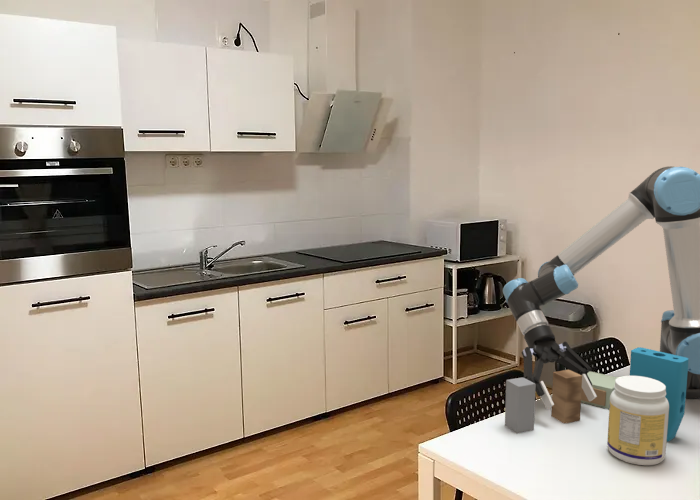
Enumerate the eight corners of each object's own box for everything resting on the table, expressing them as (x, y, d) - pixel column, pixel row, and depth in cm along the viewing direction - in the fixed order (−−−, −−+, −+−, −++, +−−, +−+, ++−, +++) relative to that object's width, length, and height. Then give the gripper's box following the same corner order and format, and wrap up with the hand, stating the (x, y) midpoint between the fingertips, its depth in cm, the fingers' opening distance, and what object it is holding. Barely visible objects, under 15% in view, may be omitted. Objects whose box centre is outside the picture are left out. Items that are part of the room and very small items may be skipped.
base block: (623, 399, 175) (624, 378, 174) (610, 411, 167) (611, 389, 166) (587, 390, 182) (588, 371, 181) (573, 401, 174) (574, 380, 173)
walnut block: (566, 413, 166) (568, 369, 164) (579, 420, 161) (582, 375, 159) (551, 416, 164) (553, 372, 162) (564, 423, 159) (566, 378, 157)
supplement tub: (616, 437, 151) (620, 370, 149) (671, 452, 144) (676, 381, 141) (599, 456, 142) (603, 384, 139) (657, 473, 134) (662, 397, 132)
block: (683, 438, 150) (690, 358, 147) (674, 445, 147) (681, 363, 144) (634, 423, 159) (639, 346, 156) (624, 428, 156) (629, 351, 153)
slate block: (521, 422, 160) (522, 377, 158) (533, 430, 156) (535, 383, 154) (504, 425, 158) (506, 380, 157) (517, 433, 154) (518, 386, 152)
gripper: (565, 332, 179) (602, 401, 167) (491, 342, 169) (524, 416, 158) (579, 319, 173) (618, 389, 161) (504, 328, 164) (539, 404, 152)
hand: (572, 403), depth 160 cm, fingers open, 13 cm apart
